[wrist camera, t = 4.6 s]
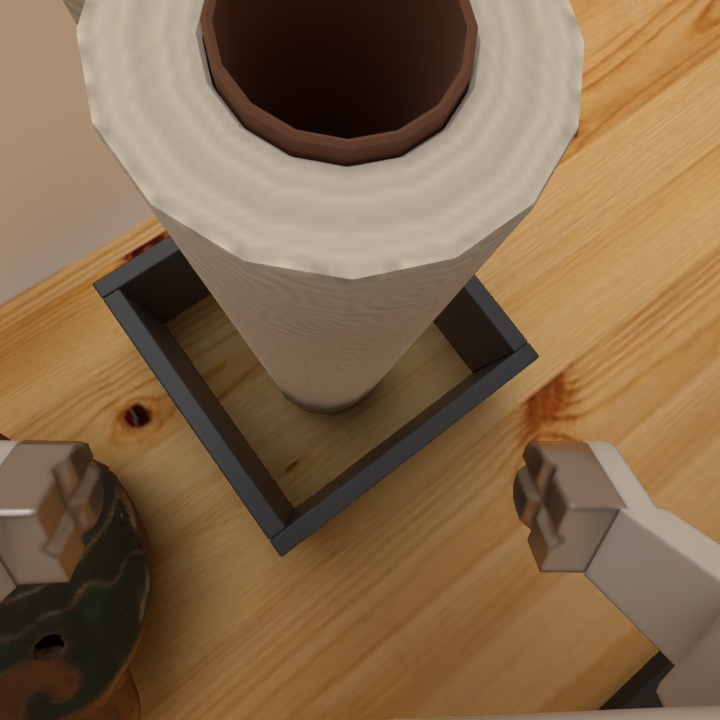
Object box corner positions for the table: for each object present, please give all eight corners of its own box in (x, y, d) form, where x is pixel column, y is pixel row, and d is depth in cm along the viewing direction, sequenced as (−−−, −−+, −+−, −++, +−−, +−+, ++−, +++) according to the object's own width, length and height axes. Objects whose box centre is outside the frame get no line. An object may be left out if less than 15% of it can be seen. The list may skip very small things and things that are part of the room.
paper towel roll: (399, 385, 27) (693, 152, 6) (296, 433, 26) (189, 368, 5) (343, 269, 27) (417, -303, 7) (242, 312, 27) (-48, -193, 6)
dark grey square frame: (347, 188, 28) (354, 121, 23) (492, 376, 27) (540, 356, 21) (143, 320, 26) (91, 283, 20) (290, 532, 25) (281, 558, 19)
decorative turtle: (88, 375, 25) (1, 351, 18) (239, 630, 25) (219, 722, 17) (-106, 480, 23) (-301, 505, 16) (53, 760, 23) (-66, 933, 15)
